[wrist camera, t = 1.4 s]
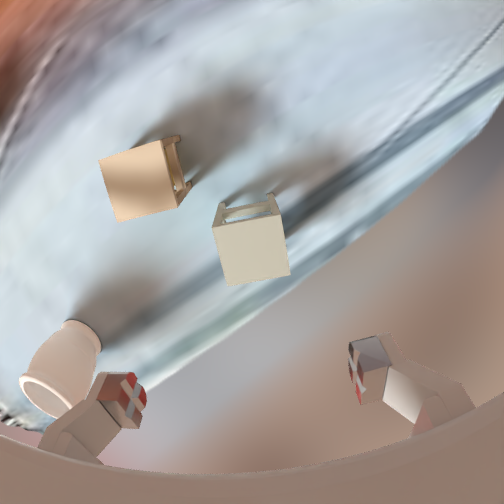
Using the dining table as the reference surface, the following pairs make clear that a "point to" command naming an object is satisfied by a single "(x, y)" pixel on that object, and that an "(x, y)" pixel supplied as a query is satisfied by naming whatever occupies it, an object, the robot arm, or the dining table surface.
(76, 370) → the jar
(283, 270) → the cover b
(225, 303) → the dining table surface
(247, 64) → the dining table surface
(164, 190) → the tan square stool
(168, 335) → the dining table surface
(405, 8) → the dining table surface
